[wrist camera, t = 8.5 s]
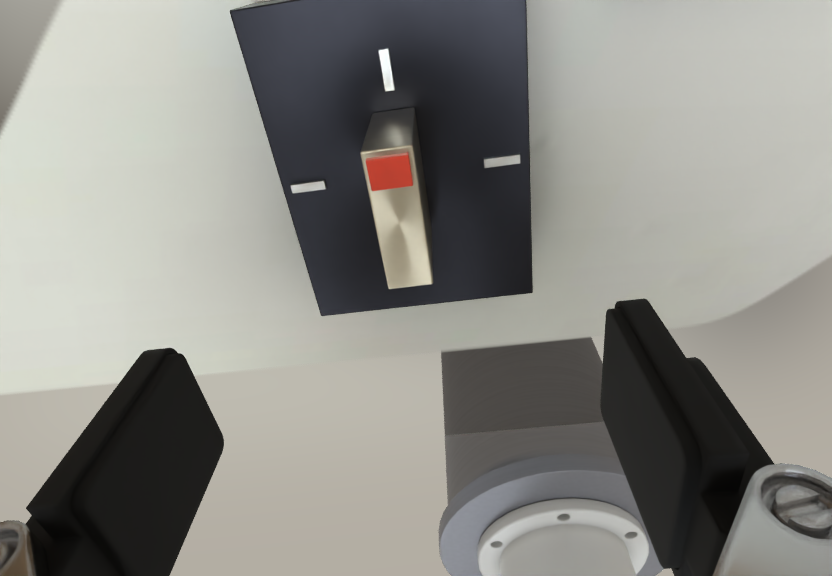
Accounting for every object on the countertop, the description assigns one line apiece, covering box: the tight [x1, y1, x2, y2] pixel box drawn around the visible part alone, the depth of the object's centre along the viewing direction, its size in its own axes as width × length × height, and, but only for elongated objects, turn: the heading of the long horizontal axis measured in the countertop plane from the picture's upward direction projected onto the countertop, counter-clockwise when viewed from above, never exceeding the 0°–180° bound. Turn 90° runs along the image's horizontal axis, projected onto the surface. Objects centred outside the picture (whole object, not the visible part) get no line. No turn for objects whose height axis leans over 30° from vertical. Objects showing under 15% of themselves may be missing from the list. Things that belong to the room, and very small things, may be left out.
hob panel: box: [230, 0, 533, 316], centre depth 22 cm, size 13×10×3 cm
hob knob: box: [360, 107, 433, 289], centre depth 18 cm, size 5×2×5 cm, turn 8°
